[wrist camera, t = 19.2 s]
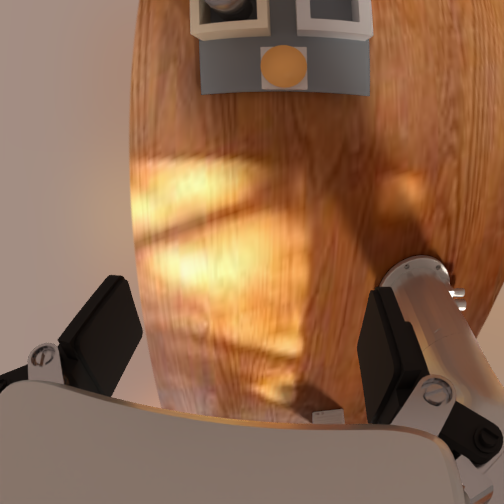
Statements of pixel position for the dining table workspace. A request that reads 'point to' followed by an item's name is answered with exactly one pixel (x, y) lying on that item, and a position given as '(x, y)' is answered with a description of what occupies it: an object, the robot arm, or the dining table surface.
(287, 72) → the button
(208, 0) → the grey rounded cylinder
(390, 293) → the robot arm
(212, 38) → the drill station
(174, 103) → the dining table surface
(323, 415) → the supplement box
